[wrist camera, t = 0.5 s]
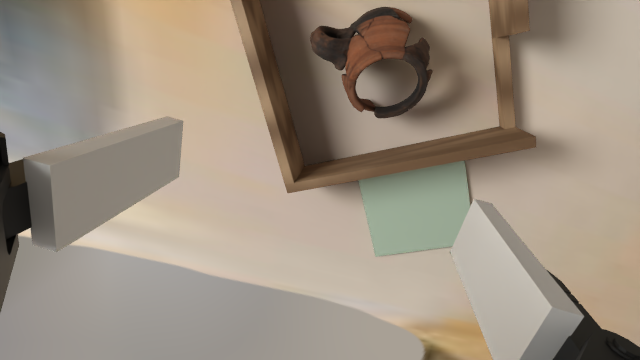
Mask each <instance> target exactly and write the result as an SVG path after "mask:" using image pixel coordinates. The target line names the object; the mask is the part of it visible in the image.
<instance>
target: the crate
mask: <svg viewBox="0 0 640 360" xmlns="http://www.w3.org/2000/svg"><path fill="white" fill-rule="evenodd" d="M230 1H231V5H232V8H233V11H234V15H235V18H236V21H237V25H238V28H239V31H240V35H241V38H242V42H243V45H244V48H245V52H246V55H247V58H248V62H249V65H250V68H251V72H252V75H253V79H254V82H255V85H256V89H257V92H258V95H259V99H260V102H261V105H262V109H263V112H264V116H265V119H266V122H267V126H268V129H269V132H270V136H271V139H272V143H273V146H274V149H275V153H276V156H277V159H278V163H279V166H280V169H281V173H282V176H283V180H284V183H285V186H286V190H287V193H292V192H297V191H303V190H308V189H314V188H319V187H324V186H330V185H335V184H340V183H346V182H351V181H357V180H362V179H367V178H373V177H378V176H384V175H389V174H394V173H400V172H405V171H410V170H416V169H421V168H427V167H432V166H437V165H443V164H448V163H453V162H459V161H464V160H470V159H475V158H480V157H486V156H491V155H497V154H502V153H507V152H513V151H518V150H523V149H529V148H534V147H536V136H533V135H531V134H529V133H527V132H525V131H523V130H521V129H518V128H516V126H515V113H514V99H513V86H512V72H511V58H510V45H509V35H513V34H518V33H522V32H526V31H530V28H529V11H528V0H489V9H490V20H491V32H492V43H493V54H494V66H495V77H496V89H497V100H498V111H499V123H500V127H495V128H490V129H486V130H481V131H476V132H471V133H466V134H461V135H456V136H451V137H446V138H441V139H436V140H431V141H426V142H421V143H416V144H411V145H406V146H402V147H397V148H392V149H387V150H382V151H377V152H372V153H367V154H362V155H357V156H352V157H347V158H342V159H337V160H332V161H327V162H322V163H318V164H313V165H308V166H305V165H304V161H303V157H302V154H301V150H300V146H299V143H298V139H297V135H296V132H295V128H294V124H293V121H292V117H291V114H290V110H289V106H288V103H287V99H286V95H285V92H284V88H283V84H282V81H281V77H280V73H279V70H278V66H277V62H276V59H275V55H274V51H273V48H272V44H271V40H270V37H269V33H268V29H267V26H266V22H265V18H264V15H263V11H262V7H261V4H260V0H230Z"/></svg>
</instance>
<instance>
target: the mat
mask: <svg viewBox="0 0 640 360" xmlns="http://www.w3.org/2000/svg"><path fill="white" fill-rule="evenodd" d="M358 181H359V185H360V190H361V194H362V199H363V203H364V207H365V212H366V216H367V221H368V225H369V230H370V234H371V238H372V243H373V247H374V252H375V256H376V257H377V256H384V255H392V254H399V253H407V252H414V251H422V250H429V249H437V248H444V247H452V246H453V244H454V242H455V240H456V238H457V235H458V233H459V231H460V229H461V226H462V224H463V222H464V220H465V217H466V215H467V213H468V211H469V208H470V200H469V192H468V184H467V176H466V168H465V160H464V161H459V162H453V163H448V164H443V165H437V166H432V167H427V168H421V169H416V170H410V171H405V172H400V173H394V174H389V175H384V176H378V177H373V178H367V179H362V180H358Z"/></svg>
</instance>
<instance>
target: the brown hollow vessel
mask: <svg viewBox="0 0 640 360" xmlns="http://www.w3.org/2000/svg"><path fill="white" fill-rule="evenodd" d="M400 18H401V19H403V20H404V21H401V20H399V19H400ZM405 21H406V22H408V23H411V22H412V17H411V16H409V15H408V14H407V13H405V12H403V11H401V10H399V9H396V8H391V7H381V8H376V9H373V10H370V11H368V12H366V13H365V14H363V15H362V16H361V17H360V18H359V19H358V20H357V21H355V22H354V23H353V24H351V26H350V27H349V28H345V29H335V28H331V27H328V26H319V27H318V28H317V29H316V30H315V31H314V32H312V33H311V37H310V41H311V45H312V49H313V51H314V52H315V53H316V54H317V55H318V56H320V57H321V58H323V59H325V60H327V61H330V62H332V63H333V64H334V65H335V67H336V68H337V69H338V70H343V69H344V67H345V66H346V68H345V69H346V74H342V81H343V85H344V88H345V91H346V93H347V95H348V98H349V100H350V102H351V103H352V105H353V106H354V107H355V108H356V109H357V110H358V111H360V112H362V111H363V110H364V109H365V110H368V111H373V112H374V114H375V116H376V117H377V118H388V117H394V116H398V115H401V114H402V113H404V112H406V111H408V109H411V108H412V107H413V106H415V105H416V104H417V103H418V102H419V101H420V100H421V98H422V97H423V95H424V93H425V91H426V87H427V85H428V81H429V79H430V77H431V74H432V70H428V71H426V68H427V66H428V64H429V48H430V47H429V44H428V43H427V41H426V40H425V39H424V38H421V39H420V40H419V43H416V44H414V45H412V46H408V47H405V44H406V42H407V38H408V35H409V32H410V27H409V26H408V24H407V23H406V22H405ZM356 32H357V33H358V34H359V35H355V36H354V34H355V33H356ZM382 59H400V60H405V61H406V62H408V63H410V64H411V65H412V66H413V67H414V68H415V70H416V72H417V74H418V84H417V86H416V89H415V90H414V92H413V93H412V94H411V95H410V96H409V97H408V98H407V99H405V100H404V101H402V102H400V103H398V104H395V105H392V106H388V107H376V106H374V104H373V103H372V102H371V101H370V100H368V99H360V98H359V97H358V96H357V93H356V89H355V86H356V80H357V78H358V76H359V75H360V73H361V72H362V71H363V70H364V69H365V68H366V67H368V66H369V65H371V64H373V63H374V62H377V61H379V60H382Z"/></svg>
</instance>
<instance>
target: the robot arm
mask: <svg viewBox="0 0 640 360" xmlns="http://www.w3.org/2000/svg"><path fill="white" fill-rule="evenodd" d="M182 131H183V121H182V120H178V119H174V118H171V117H164V118H160V119H157V120H153V121H150V122H146V123H143V124H139V125H136V126H132V127H129V128H125V129H122V130H119V131H115V132H112V133H108V134H105V135H101V136H98V137H94V138H91V139H87V140H84V141H80V142H77V143H73V144H70V145H66V146H63V147H59V148H56V149H52V150H49V151H45V152H42V153H38V154H35V155H31V156H28V157H24V158H23V159H22V160H19V161H15V162H12V163H9V162H8V155H7V147H6V139H5V134H3V133H1V132H0V312H1V308H2V305H3V301H4V298H5V294H6V290H7V287H8V283H9V280H10V276H11V272H12V269H13V265H14V262H15V258H16V254H17V251H18V247H19V241H18V233H21V232H23V231H25V230H27V229H29V228H31V235H32V245H34V246H38V247H41V248H44V249H47V250H51V251H54V252H58V251H59V250H61V249H63V248H64V247H66V246H68V245H69V244H71V243H72V242H74V241H76V240H77V239H79V238H81V237H82V236H84V235H85V234H87V233H89V232H90V231H92V230H94V229H95V228H97V227H98V226H100V225H102V224H103V223H105V222H106V221H108V220H110V219H111V218H113V217H115V216H116V215H118V214H119V213H121V212H123V211H124V210H126V209H128V208H129V207H131V206H132V205H134V204H136V203H137V202H139V201H141V200H142V199H144V198H145V197H147V196H149V195H150V194H152V193H154V192H155V191H157V190H158V189H160V188H162V187H163V186H165V185H166V184H168V183H170V182H171V181H173V180H175V179H176V178H178V177H179V170H180V157H181V144H182ZM450 253H451V256H452V258H453V261H454V263H455V266H456V268H457V271H458V273H459V276H460V278H461V281H462V283H463V286H464V288H465V291H466V293H467V296H468V298H469V301H470V303H471V306H472V308H473V311H474V313H475V316H476V318H477V321H478V323H479V326H480V328H481V331H482V333H483V336H484V338H485V341H486V343H487V346H488V348H489V351H490V353H491V356H492V358H493V360H640V347H638V346H637V345H635V344H634V343H632V342H631V341H629V340H628V339H626V338H624V337H622V336H620V335H618V334H616V333H613V332H610V331H608V330H604V329H601V328H600V326H599V325H598V324H597V323H596V322H595V321H594V319H593V318H592V317H591V316H590V315H589V313H588V312H587V311H586V310H585V309H584V308H583V306H582V305H581V304H579V302H578V300H577V299H576V298H575V297H574V296H573V295H572V294H571V292H570V291H569V290H568V289H567V287H566V286H565V285H564V284H563V283H562V282H561V281H560V280H559V279H558V278H556V277H555V276H554V275H553V274H551V273H550V272H549V271H548V270H546V269H545V268H544V267H543V265H542V264H541V263H540V262H539V261H538V259H537V258H536V257H535V256H534V254H533V253H532V252H531V251H530V250H529V248H528V247H527V246H526V245H525V243H524V242H523V241H522V240H521V239H520V237H519V236H518V235H517V234H516V233H515V231H514V230H513V229H512V228H511V226H510V225H509V224H508V223H507V222H506V220H505V219H504V218H503V217H502V215H501V214H500V213H499V212H498V211H497V209H496V208H495V207H494V206H493V204H492V203H488V202H484V201H481V200H477V199H473V202H472V204H471V206H470V208H469V211H468V213H467V215H466V217H465V220H464V222H463V224H462V226H461V229H460V231H459V233H458V235H457V238H456V240H455V242H454V244H453V247H452V249H451V251H450Z"/></svg>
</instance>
